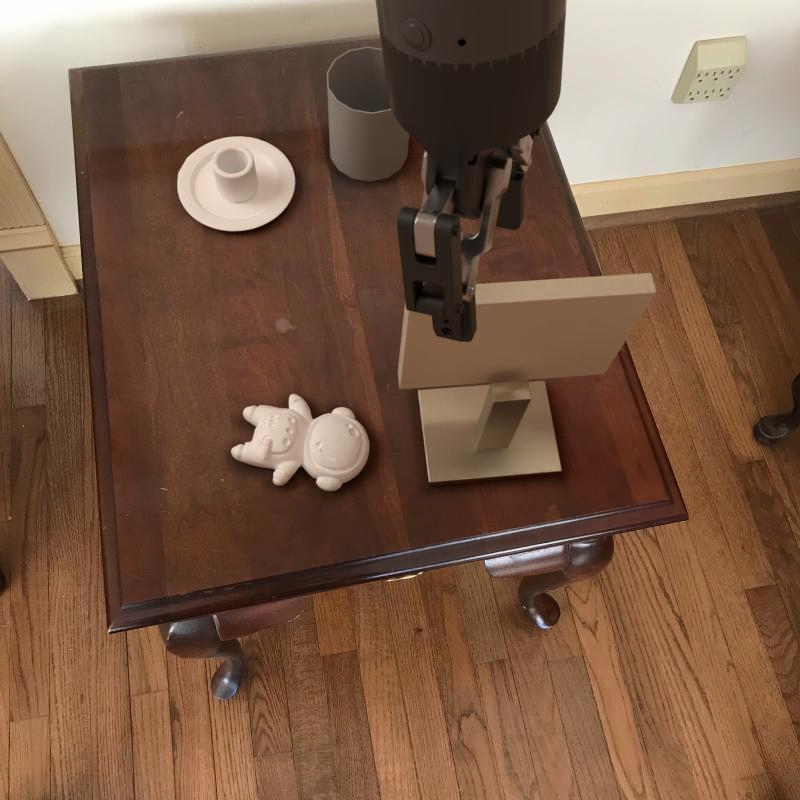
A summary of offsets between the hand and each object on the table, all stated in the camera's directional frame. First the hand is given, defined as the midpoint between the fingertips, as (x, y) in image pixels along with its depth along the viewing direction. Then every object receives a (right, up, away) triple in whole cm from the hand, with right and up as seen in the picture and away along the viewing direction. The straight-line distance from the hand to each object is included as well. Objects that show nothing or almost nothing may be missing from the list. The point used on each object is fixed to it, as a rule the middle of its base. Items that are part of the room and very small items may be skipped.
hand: (480, 276), depth 46 cm
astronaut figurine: (-13, -11, +29) cm, 34 cm away
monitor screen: (+4, -5, +22) cm, 23 cm away
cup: (-8, +20, +43) cm, 48 cm away
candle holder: (-21, +15, +40) cm, 48 cm away
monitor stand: (+4, -10, +30) cm, 32 cm away
